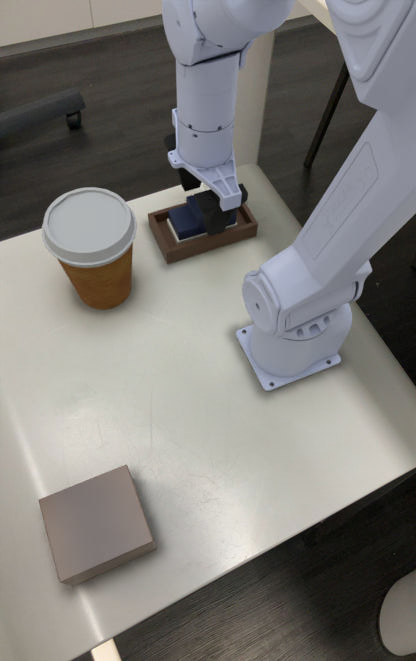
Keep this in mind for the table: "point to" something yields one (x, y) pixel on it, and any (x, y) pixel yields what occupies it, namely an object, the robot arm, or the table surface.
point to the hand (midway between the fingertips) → (203, 209)
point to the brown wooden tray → (176, 253)
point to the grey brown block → (96, 526)
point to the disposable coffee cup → (93, 243)
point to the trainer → (190, 222)
